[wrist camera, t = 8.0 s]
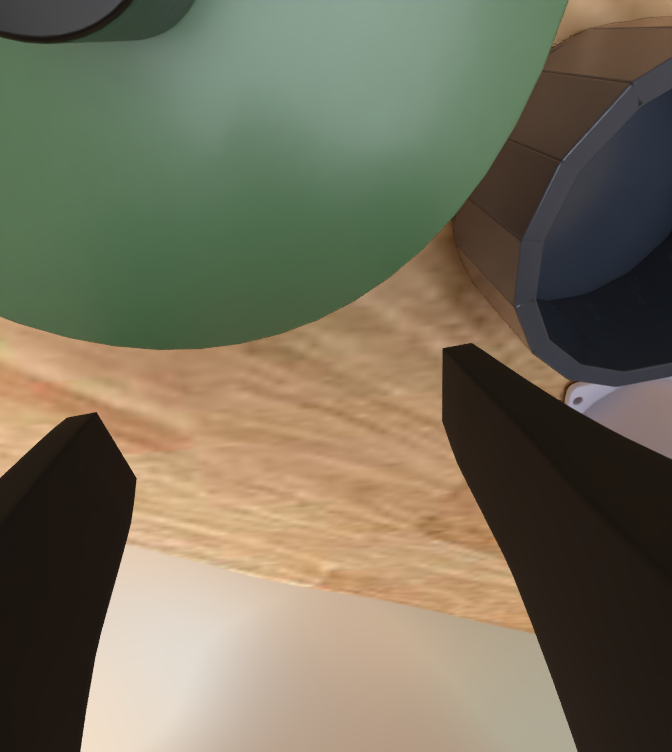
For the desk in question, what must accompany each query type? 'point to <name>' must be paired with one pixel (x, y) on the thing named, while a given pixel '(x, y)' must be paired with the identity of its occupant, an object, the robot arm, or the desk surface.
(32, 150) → the lid
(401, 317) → the desk surface
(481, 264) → the tin
